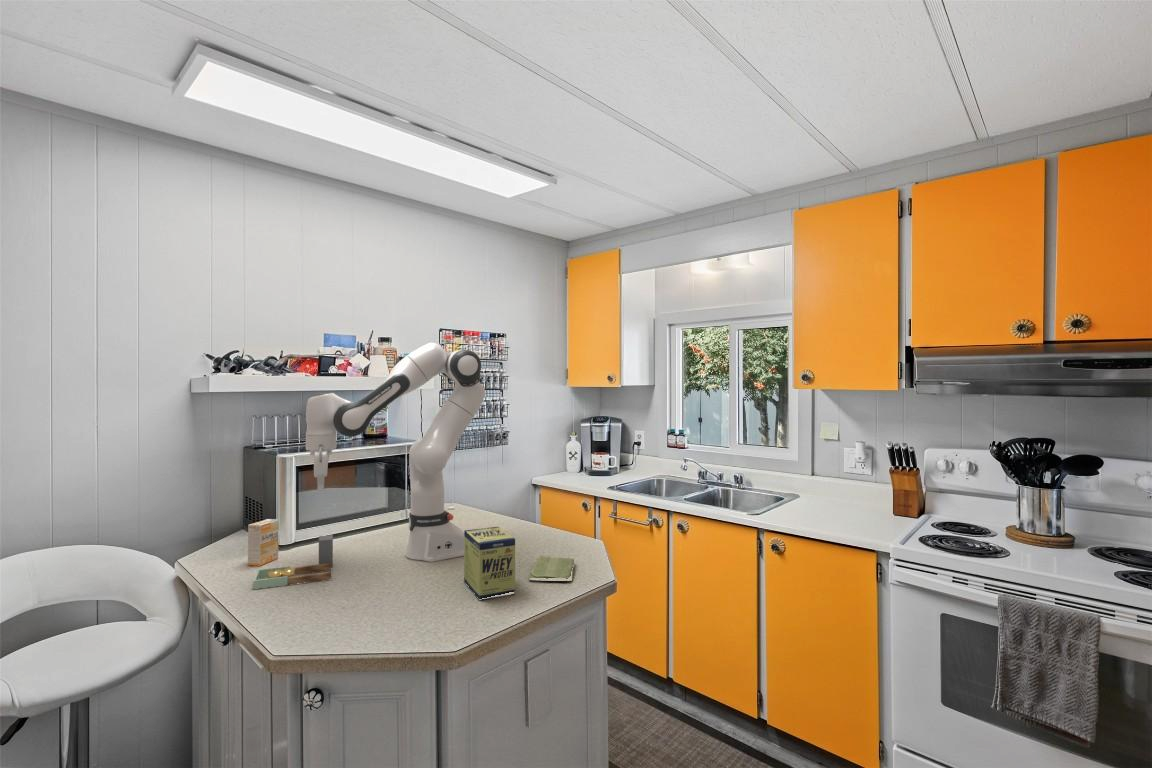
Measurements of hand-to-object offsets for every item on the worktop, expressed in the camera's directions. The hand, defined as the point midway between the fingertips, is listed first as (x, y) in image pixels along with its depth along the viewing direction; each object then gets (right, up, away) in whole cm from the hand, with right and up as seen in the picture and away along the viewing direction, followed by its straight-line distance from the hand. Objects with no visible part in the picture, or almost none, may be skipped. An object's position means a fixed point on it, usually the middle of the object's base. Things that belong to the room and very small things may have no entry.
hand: (321, 487), depth 175 cm
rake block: (+1, -25, +1) cm, 25 cm away
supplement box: (-20, -25, +4) cm, 33 cm away
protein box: (+56, -26, -18) cm, 64 cm away
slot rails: (+1, -25, -9) cm, 27 cm away
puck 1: (-7, -25, -13) cm, 29 cm away
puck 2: (-4, -25, -12) cm, 28 cm away
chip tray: (-8, -25, -13) cm, 29 cm away
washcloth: (+74, -26, -5) cm, 78 cm away
